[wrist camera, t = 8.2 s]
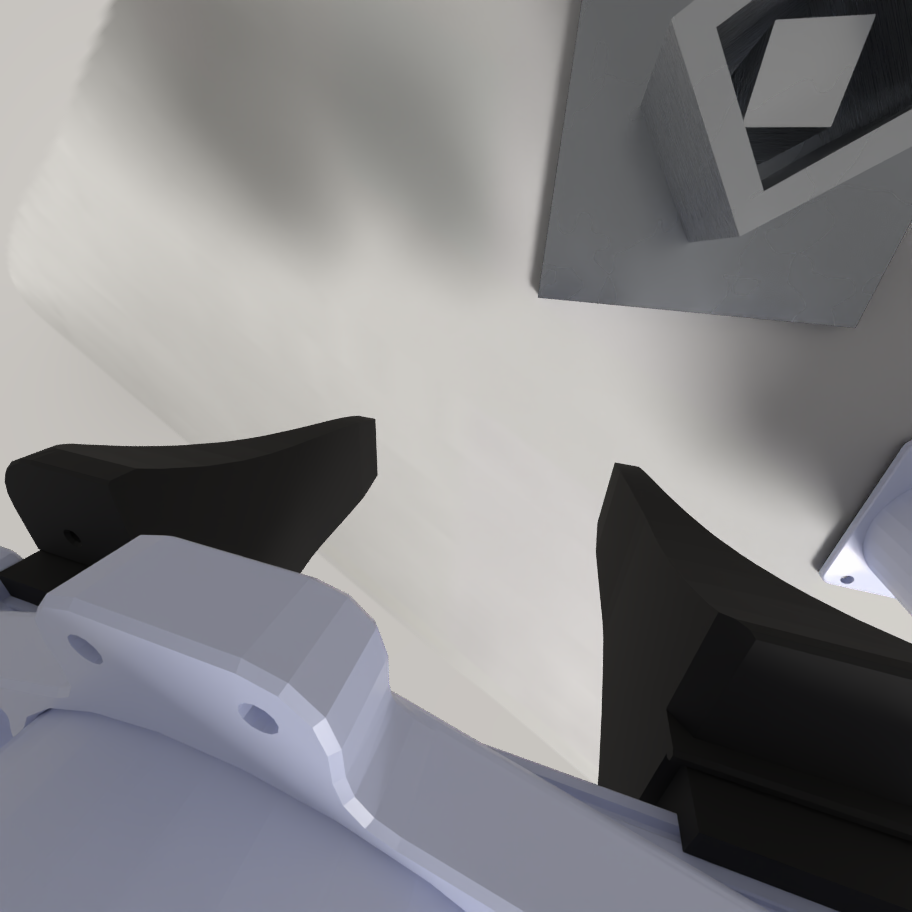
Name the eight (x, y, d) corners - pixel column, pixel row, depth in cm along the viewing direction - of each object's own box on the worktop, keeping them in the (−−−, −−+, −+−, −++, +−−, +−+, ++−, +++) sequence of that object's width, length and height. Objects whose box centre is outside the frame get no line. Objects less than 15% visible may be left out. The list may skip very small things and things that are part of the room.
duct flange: (1094, -170, 10) (1518, -525, 5) (843, 324, 16) (948, 353, 11) (599, -105, 13) (606, -306, 8) (539, 295, 18) (523, 309, 14)
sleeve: (814, -22, 12) (992, -239, 7) (853, 152, 13) (1028, 85, 8) (640, 105, 14) (670, 19, 9) (688, 242, 15) (739, 236, 10)
